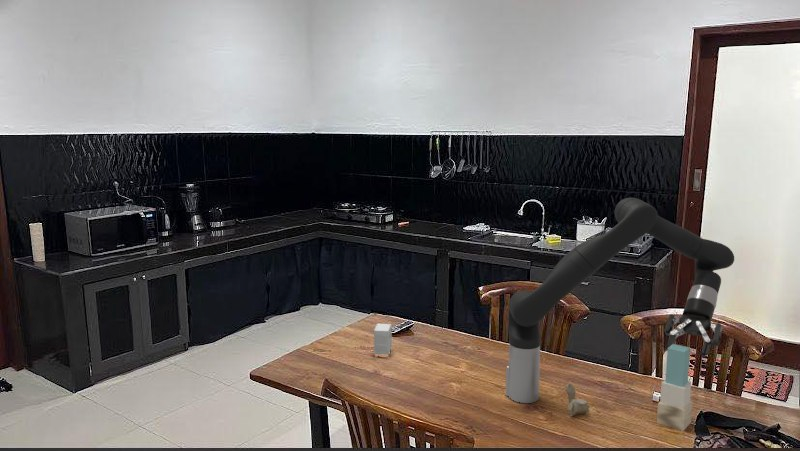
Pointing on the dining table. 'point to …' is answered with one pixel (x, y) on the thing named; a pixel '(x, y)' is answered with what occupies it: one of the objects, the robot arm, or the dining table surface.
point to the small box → (382, 338)
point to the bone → (575, 402)
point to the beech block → (674, 416)
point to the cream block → (675, 395)
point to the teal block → (677, 365)
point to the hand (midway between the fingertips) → (686, 352)
